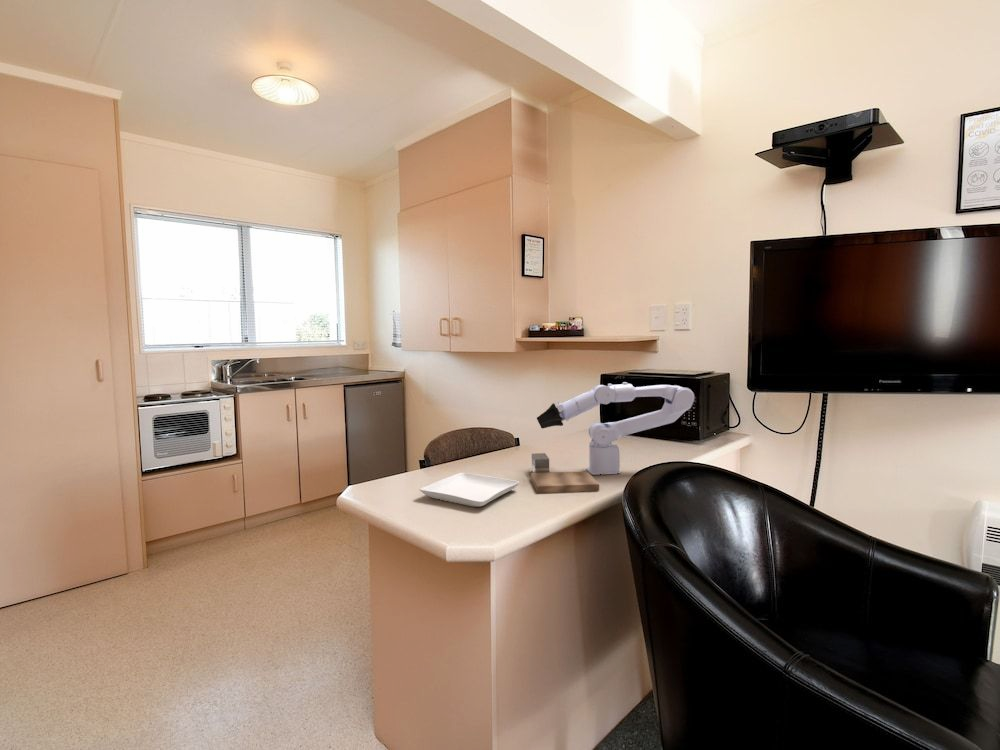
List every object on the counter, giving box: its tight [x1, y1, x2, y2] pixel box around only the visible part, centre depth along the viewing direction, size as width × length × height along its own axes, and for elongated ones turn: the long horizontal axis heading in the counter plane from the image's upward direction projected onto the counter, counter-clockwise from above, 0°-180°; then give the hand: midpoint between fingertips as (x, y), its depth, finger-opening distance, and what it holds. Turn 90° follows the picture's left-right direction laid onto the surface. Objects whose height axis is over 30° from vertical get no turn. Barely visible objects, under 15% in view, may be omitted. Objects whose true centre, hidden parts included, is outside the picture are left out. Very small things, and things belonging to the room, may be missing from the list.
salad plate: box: [419, 472, 520, 508], centre depth 141 cm, size 21×21×3 cm
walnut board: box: [530, 470, 600, 494], centre depth 149 cm, size 18×14×2 cm
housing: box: [531, 452, 550, 473], centre depth 162 cm, size 4×8×6 cm, turn 4°
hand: (539, 423), depth 162 cm, fingers open, 7 cm apart
